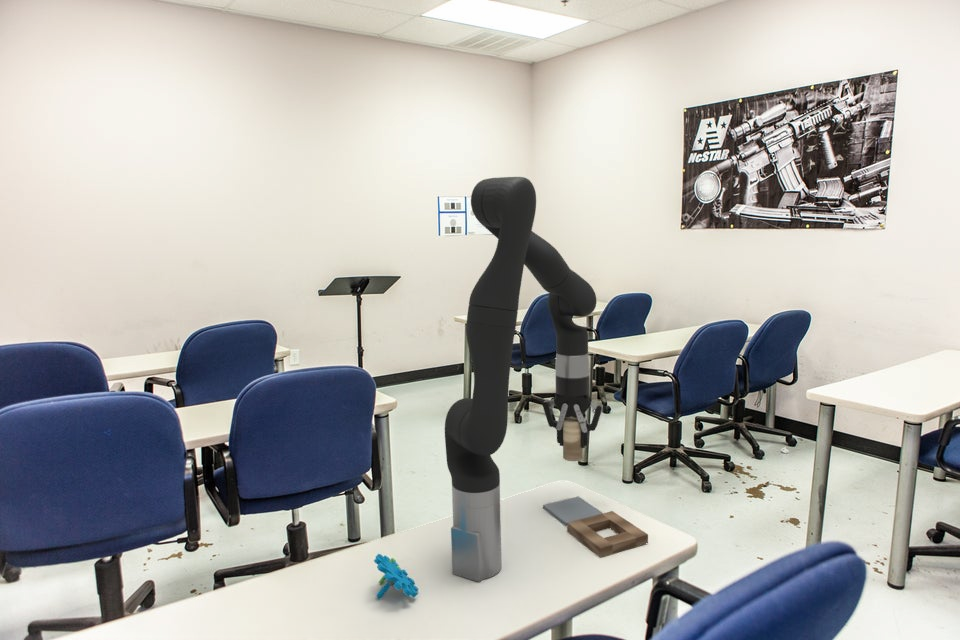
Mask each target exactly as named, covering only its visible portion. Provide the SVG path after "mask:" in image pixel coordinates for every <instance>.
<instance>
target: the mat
mask: <svg viewBox="0 0 960 640" xmlns="http://www.w3.org/2000/svg"><path fill="white" fill-rule="evenodd" d="M542 509H544V511H546V512H547V513H549V514H550V515H551V516H552V517H553V518H555V519H556V520H557V521H559V522H560V523H562V524H563V525H564V526H565V527H567V523H568V522H572V521H576V520H579V519H583V518H587V517H591V516H595V515H599V514H603V513H604V512H602V511H600V510H599V509H598V508H596V507H595V506H594V505H592V504H590V503H589V502H588V501H586V500H585V499H583V498H582V497H580V496H579V495H578V496H574V497H571V498H566V499H563V500H558V501H554V502H549V503H545V504H542Z"/></svg>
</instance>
